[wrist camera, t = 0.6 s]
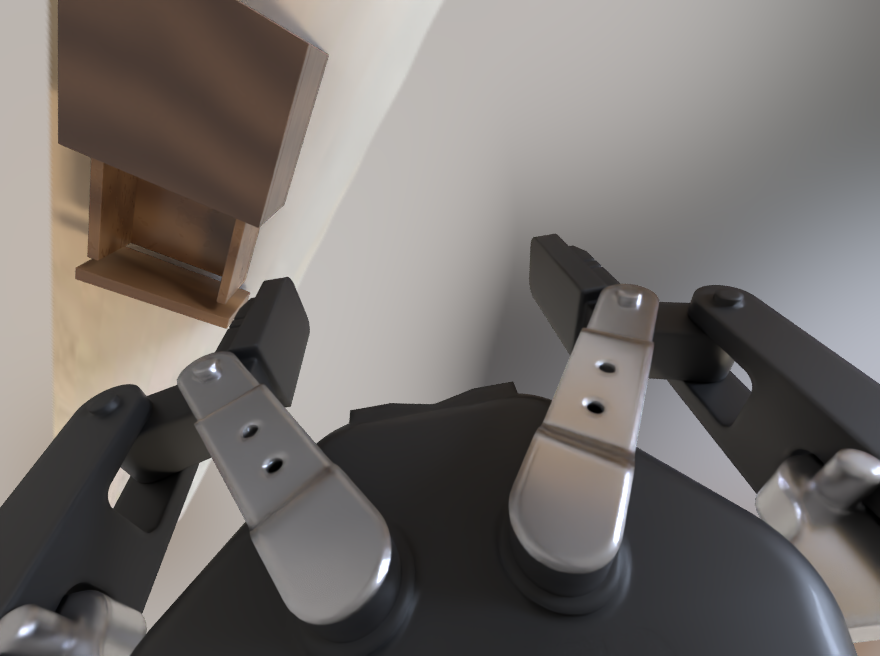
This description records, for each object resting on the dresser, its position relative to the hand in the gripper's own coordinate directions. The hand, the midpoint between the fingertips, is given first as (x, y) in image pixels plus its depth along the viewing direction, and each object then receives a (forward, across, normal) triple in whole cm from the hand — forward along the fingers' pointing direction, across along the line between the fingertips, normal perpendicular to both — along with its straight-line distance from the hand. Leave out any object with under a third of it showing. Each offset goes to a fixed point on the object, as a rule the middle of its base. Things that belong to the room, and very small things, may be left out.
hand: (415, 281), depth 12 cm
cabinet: (+28, +14, -5) cm, 31 cm away
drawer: (+27, +21, +6) cm, 34 cm away
